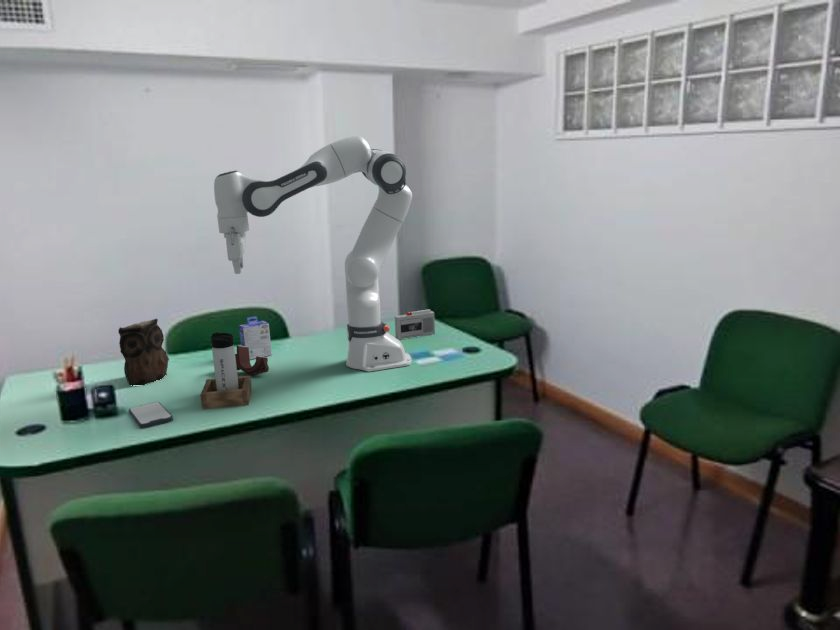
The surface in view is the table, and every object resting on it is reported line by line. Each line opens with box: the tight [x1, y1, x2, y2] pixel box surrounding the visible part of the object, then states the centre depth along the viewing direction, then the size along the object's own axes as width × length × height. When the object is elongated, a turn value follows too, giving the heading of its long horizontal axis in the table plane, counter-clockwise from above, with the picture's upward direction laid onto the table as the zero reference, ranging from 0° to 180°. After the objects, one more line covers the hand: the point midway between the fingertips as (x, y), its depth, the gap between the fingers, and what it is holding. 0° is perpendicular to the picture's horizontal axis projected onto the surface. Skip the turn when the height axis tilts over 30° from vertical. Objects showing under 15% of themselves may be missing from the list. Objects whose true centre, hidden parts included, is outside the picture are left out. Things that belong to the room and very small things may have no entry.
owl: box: [118, 318, 170, 386], centre depth 205 cm, size 13×13×20 cm
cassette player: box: [394, 308, 436, 340], centre depth 247 cm, size 16×3×10 cm, turn 114°
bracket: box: [235, 344, 270, 376], centre depth 211 cm, size 6×17×10 cm, turn 77°
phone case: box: [128, 401, 174, 429], centre depth 179 cm, size 9×2×16 cm
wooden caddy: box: [199, 375, 253, 410], centre depth 190 cm, size 13×16×12 cm
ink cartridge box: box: [238, 315, 273, 360], centre depth 228 cm, size 10×6×14 cm, turn 124°
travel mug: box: [210, 332, 239, 391], centre depth 188 cm, size 6×7×20 cm
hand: (239, 270), depth 196 cm, fingers open, 8 cm apart
